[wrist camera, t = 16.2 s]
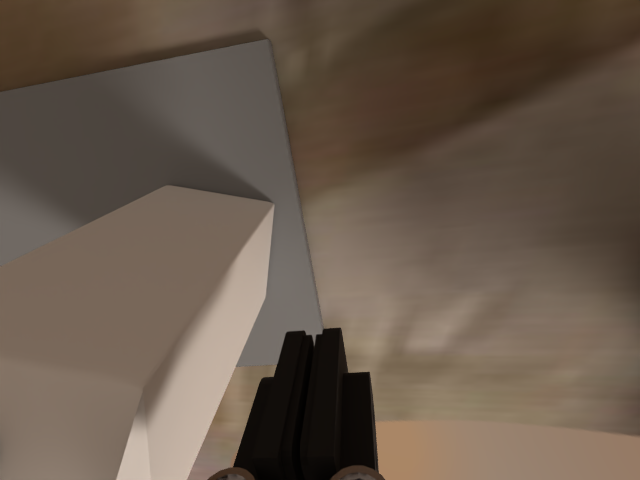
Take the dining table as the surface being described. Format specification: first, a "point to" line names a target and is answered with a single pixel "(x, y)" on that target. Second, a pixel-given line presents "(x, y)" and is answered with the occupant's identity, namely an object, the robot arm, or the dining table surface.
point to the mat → (161, 162)
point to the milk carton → (128, 336)
